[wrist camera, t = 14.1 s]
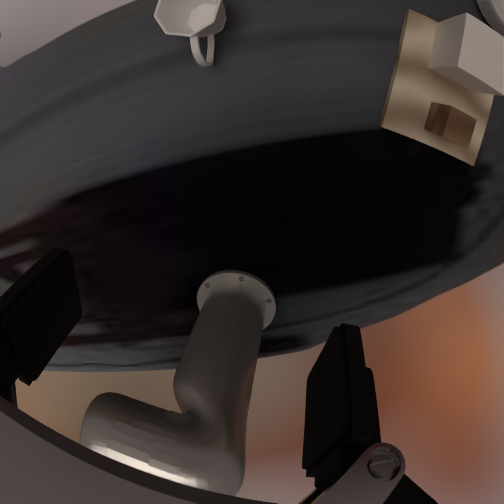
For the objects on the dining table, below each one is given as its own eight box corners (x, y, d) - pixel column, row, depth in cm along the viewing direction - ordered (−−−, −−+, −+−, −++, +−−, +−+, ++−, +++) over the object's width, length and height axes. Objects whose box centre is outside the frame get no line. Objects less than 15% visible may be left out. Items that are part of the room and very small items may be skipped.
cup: (234, -8, 26) (217, -30, 19) (244, 63, 31) (229, 57, 24) (178, 4, 27) (150, -11, 21) (188, 73, 32) (160, 71, 25)
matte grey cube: (470, 91, 26) (505, 96, 19) (427, 68, 26) (457, 66, 20) (479, 47, 23) (514, 45, 16) (436, 23, 23) (466, 12, 16)
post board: (468, 163, 32) (494, 179, 26) (378, 125, 32) (395, 134, 26) (494, 59, 24) (524, 60, 18) (405, 11, 24) (426, -2, 18)
